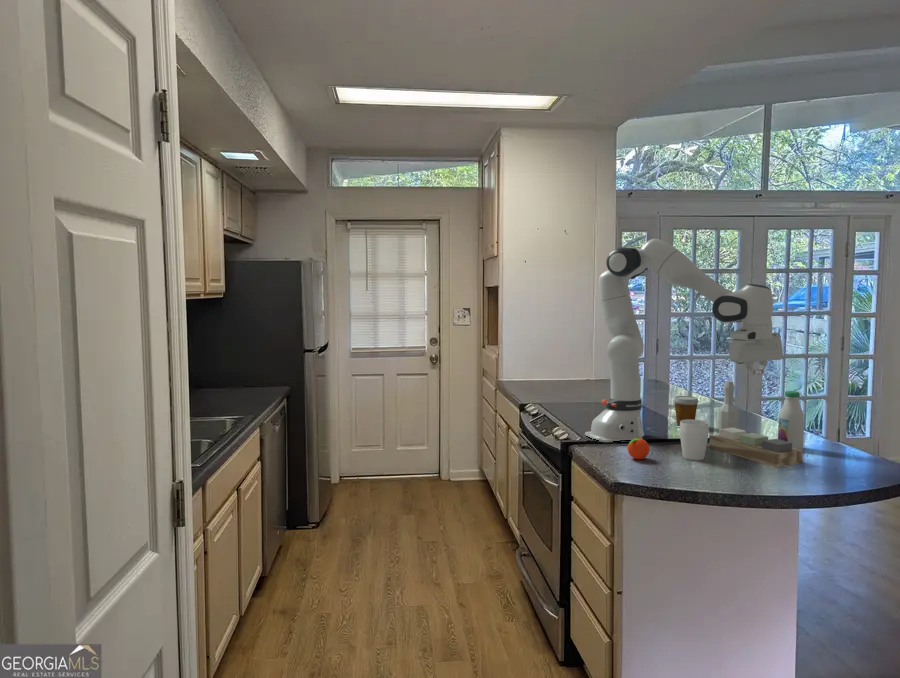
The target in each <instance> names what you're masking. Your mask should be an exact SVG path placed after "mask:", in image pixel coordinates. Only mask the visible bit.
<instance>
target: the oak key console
mask: <svg viewBox="0 0 900 678" xmlns="http://www.w3.org/2000/svg"><path fill="white" fill-rule="evenodd" d="M709 448H711V449H715V450H717V451H720V452H724V453H727V454H730V455H733V456H737V457H740V458H743V459H747V460H750V461H753V462H756V463H759V464H762V465H765V464H766V466H768V467H769V466H770V467H773V468H778V467H779V466H780V467H786V465H787V466H792V465H798V464H803V462H804V461H803V460H804V459H803V458H804V457H803V456H804V455H803V454H804V450H803V449H802V450H798V449H795V448H792V451H788V452H781V453H777V452H773V451H770V450H766V449H762V445H761V446H752V445H748V444H745V443H741V442H740V439H739V440H731V439H727V438H723V437H720V434H716V435H709ZM780 467H779V468H780Z"/></svg>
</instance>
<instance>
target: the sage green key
mask: <svg viewBox="0 0 900 678" xmlns="http://www.w3.org/2000/svg"><path fill="white" fill-rule="evenodd" d="M763 440H769V436H767V435H763V434H759V433H757V432H756V433H755V432H751V433H746V434H741V435H740V442H741V443H745V444H748V445H752V446H761V445H762V441H763Z"/></svg>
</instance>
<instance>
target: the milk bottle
mask: <svg viewBox="0 0 900 678" xmlns="http://www.w3.org/2000/svg"><path fill="white" fill-rule="evenodd" d="M800 393H801V392H799V391H796V390H786V391H784V398H785V399H784V402H783V405H782V406H781V408H780V411H779V414H778V428H777V429H778V430H777V431H778V434H777V439H779V440H783V441H787V442H791V443H792V448H795V449H798V450H802V451H803V449H804V435H805V434H804V433H805V432H804V431H805V425H804V424H805V416H804V415H805V414H804V412H803V409H802V407H801V404H800V396H801V394H800Z"/></svg>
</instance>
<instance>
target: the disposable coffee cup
mask: <svg viewBox="0 0 900 678" xmlns="http://www.w3.org/2000/svg"><path fill="white" fill-rule="evenodd" d="M672 401H673V403H674V410H675V417H676V419H675V421H676V427H677V426H680V421H681V420H687V419H693V420H696V416H697V411H698V410H697V409H698V404H699V398H698V397H696V396H690V395H677V396H674V399H673V400H672Z"/></svg>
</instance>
